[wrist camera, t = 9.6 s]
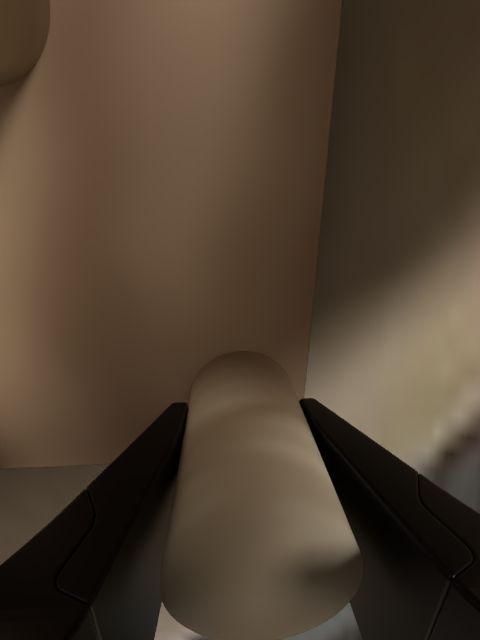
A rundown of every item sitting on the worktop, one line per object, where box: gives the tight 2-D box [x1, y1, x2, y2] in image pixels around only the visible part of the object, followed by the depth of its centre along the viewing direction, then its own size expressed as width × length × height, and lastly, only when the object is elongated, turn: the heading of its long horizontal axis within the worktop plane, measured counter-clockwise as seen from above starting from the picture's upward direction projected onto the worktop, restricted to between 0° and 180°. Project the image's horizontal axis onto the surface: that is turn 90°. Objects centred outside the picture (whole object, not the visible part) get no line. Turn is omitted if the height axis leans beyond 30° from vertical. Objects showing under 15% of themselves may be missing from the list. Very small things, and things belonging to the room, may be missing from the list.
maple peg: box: [159, 351, 364, 640], centre depth 7 cm, size 3×3×5 cm
